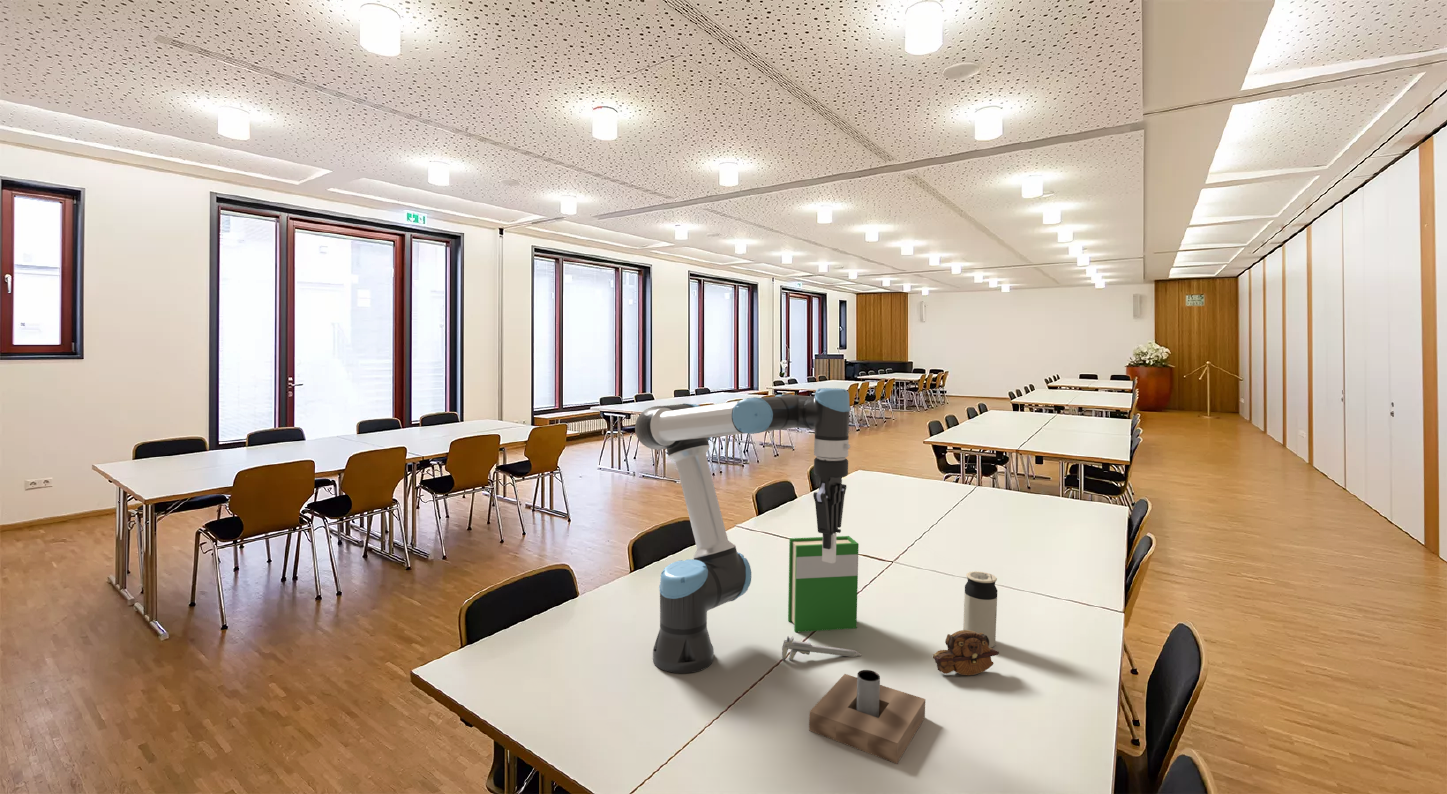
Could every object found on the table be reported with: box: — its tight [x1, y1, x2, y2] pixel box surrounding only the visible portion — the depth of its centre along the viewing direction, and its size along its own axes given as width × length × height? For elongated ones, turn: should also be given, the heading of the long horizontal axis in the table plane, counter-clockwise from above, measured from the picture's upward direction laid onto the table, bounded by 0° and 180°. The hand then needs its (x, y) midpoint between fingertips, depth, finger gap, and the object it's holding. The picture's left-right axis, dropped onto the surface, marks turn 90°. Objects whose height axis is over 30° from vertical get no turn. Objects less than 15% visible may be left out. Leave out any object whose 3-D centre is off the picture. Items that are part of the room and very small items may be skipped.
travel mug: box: [962, 570, 998, 648], centre depth 164 cm, size 8×8×18 cm
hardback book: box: [787, 535, 860, 633], centre depth 174 cm, size 18×7×24 cm, turn 99°
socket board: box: [808, 673, 926, 764], centre depth 127 cm, size 18×18×4 cm
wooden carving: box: [932, 629, 1000, 676], centre depth 148 cm, size 16×5×10 cm, turn 105°
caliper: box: [781, 635, 862, 662], centre depth 155 cm, size 20×1×6 cm, turn 99°
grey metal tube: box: [856, 669, 881, 718], centre depth 127 cm, size 4×4×10 cm
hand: (828, 561), depth 139 cm, fingers closed
